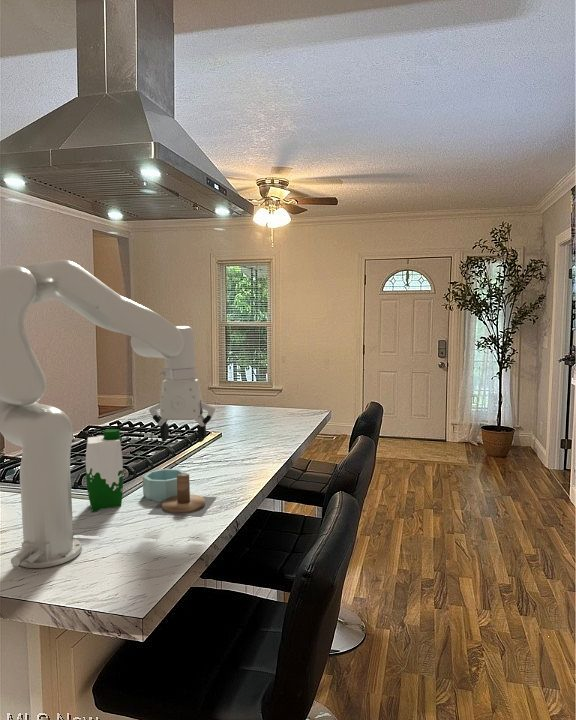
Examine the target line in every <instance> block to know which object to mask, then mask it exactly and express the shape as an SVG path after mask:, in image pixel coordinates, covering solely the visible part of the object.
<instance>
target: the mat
mask: <svg viewBox="0 0 576 720" xmlns="http://www.w3.org/2000/svg"><path fill="white" fill-rule="evenodd" d="M202 497H203V498H205V506H204V507H203V508H201V509H199V510H196V511H193V512H187V513H171V512H167V511H165V510H163V508H162V502H163V501H159V502H158V503H157V505H155V507H154V508H152V509H151V510H150V511H149V512H148V513H147V515H154V516H174V517H175V516H177V517H178V516H179V517H198V518H199V517H200V518H202V517H203V516H204V515H205V514H206V512H208V510H209V509H210V507H211V506H212V504H213V503H214V502H215V501H216V500H217V498H218V496H202Z"/></svg>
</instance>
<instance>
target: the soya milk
mask: <svg viewBox="0 0 576 720" xmlns="http://www.w3.org/2000/svg"><path fill="white" fill-rule="evenodd" d="M86 441H87V442H86V449H85V450H86V452H85V479H86V489H87V491H86V492H87V495H88V501H89V504H90V508H91V512H92V513H94V512H99V511H100V510H102V509H110V508H118V507H122V501H123V493H124V474H123V473H124V471H123V470H124V469H123V468H124V467H123V454H122V453H123V452H122V442H121V441H122V438H121V433H120V429H119V428H110V429H109V428H107V429H105V430H103V435H97V436H90V437H89V436H88V437H87V440H86Z"/></svg>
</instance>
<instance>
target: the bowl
mask: <svg viewBox="0 0 576 720" xmlns="http://www.w3.org/2000/svg"><path fill="white" fill-rule="evenodd" d="M182 473H186V474H188V472H187V471H184V470H183V469H178V468H177V469H176V468H162V469H161V468H160V469H157V470H153V471H147V473H146V474H144V475H143V476H142V494H143V495H144V497H145V498H146V499H147V500H149V501H155V502H161V501H164V500H165V499H167V498H169V497H172V496H177V475H178V474H182Z"/></svg>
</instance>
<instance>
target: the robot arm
mask: <svg viewBox="0 0 576 720" xmlns="http://www.w3.org/2000/svg"><path fill="white" fill-rule="evenodd" d="M53 301H58V302H60V303H62V304H63V305H65V306H67V307H68V308H70V309H72V310H73V311H74V312H75V313H77V314H79V315H80V316H81V317H84V318H85V319H87V320H88V321H89V322H91V323H92V324H94V325H95V326H98V327H99V328H102V329H104V330H107V331H111V332H115V333H120V334H123V335H125V336H126V335H127V336H130V347H131V348H132V350H133V351H134V353H135V354H137V355H138V356H140V357H144V358H153V359H155V358H156V359H157V358H158V359H164V369H163V370H162V369H161V370H160V371H159V374H160V376H163V377H164V380H162V383H161V389H160V401H159V402H160V403H158V404H156V405H154V406H152V407H151V408H149V409H148V412H149V413H150V415H151V417H152V419H153V421H155V422H156V423H157V425H158V426H159V431H160V432H159V435H160V438H161V442H166V441H167V440H169V438H170V437H169V436H170V435H169V434H170V433H169V432H170V431H169V424H168V423H167V422H169V421H194V420H195V421H196V423H198V425H199V426H197V436H198V437H197V441H198V443H202V442H203V441H205V439H206V438H207V427H206V425H207V424H208V423H209V422H210V421H211V420H212V419H213V416H214V414H215V413H216V407H215V406H214V407H213V406H211V405H210V404H208V403H206V402H204V401H203V396H202V391H201V387H200V381H199V379H198V378H197V376H196V375H197V374H196V352H195V351H196V349H195V331H194V329H193V328H192V327H191V326H187V325H179V326H178V325H176V326H175V325H174V324H173V323H171V322H170V321H169V320H168V319H166V318H165V317H163V316H162V315H160V314H159V313H157V312H155V311H153V310H151V309H150V308H148V307H145V306H143V305H142V304H139V303H137V302H135V301H133V300H132V299H129V298H127V297H124V296H122V295H121V294H119V293H118V292H116V291H115V290H114V289H112V288H111V287H109V286H108V285H106V284H105V283H104V282H102V281H101V280H100V279H98V278H97V277H95V276H94V275H93V274H92V273H90V272H89V271H87V270H86V269H85V268H83V267H82V266H81V265H80V264H77V263H76V262H74V261H71V260H68V259H55V260H48V261H42V262H36V263H31V264H25V265H3V266H0V433H1V435H2V436H3V438H4V439H5V440H7V441H8V442H9V443H11V444H13V445H14V446H18V447H21V448H22V455H21V461H20V467H19V484H20V485H19V486H20V499H21V500H20V502H21V519H22V537H23V541H22V542H21V548H20V549H19V550H18V551H17V552H16V555H14V556H12V558H11V559H10V563H11V566H13V567H17V566H21V567H23V568H29V569H44V568H52V567H55V566H59V565H62V564H65V563H67V562H70V561H72V560H73V559H75V558H77V556H79V555H80V553H81V552H82V550H83V547H82V546H83V545H82V542H81V541H80V540H78V539H76V538H74V525H73V524H74V523H73V522H74V520H73V503H72V501H73V500H72V499H73V498H72V481H71V453H72V452H71V451H72V443H73V438H74V437H73V436H74V429H73V424H72V421H71V419H70V417H69V416H68V415H67V414H66V413H65V411H63V410H61V409H59V408H57V407H55V406H53V405H47V404H42V403H39V401H41V399H42V398H43V397H44V395H45V393H46V391H47V379H46V376H45V373H44V371H43V369H42V367H41V364H40V363H39V361H38V358H37V356H36V353H35V352H34V350H33V348H32V346H31V343H30V340H29V338H28V335H27V333H26V328H25V318H26V314H27V312H28V309H29V307H30V305H35V304H40V303H45V302H53ZM158 410H159V411H160V413H159V414H158ZM204 410H205V411H206V412H207V415H206V417H204V416H203V411H204Z"/></svg>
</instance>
